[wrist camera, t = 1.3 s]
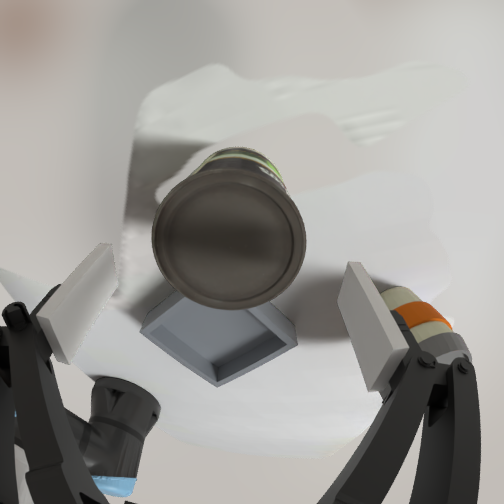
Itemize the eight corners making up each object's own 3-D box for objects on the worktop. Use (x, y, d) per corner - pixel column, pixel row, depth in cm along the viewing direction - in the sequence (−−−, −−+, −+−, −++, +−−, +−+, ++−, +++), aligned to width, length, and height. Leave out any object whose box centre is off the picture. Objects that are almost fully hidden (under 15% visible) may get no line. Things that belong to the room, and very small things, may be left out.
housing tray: (219, 368, 44) (217, 387, 40) (147, 313, 39) (139, 332, 35) (294, 325, 40) (297, 344, 36) (221, 254, 34) (218, 271, 31)
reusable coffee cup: (337, 317, 39) (365, 402, 26) (403, 259, 35) (461, 331, 22) (378, 351, 43) (407, 422, 30) (435, 304, 39) (480, 369, 25)
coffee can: (261, 130, 28) (270, 141, 15) (297, 214, 32) (325, 282, 20) (175, 170, 30) (123, 212, 17) (215, 247, 34) (197, 327, 22)
